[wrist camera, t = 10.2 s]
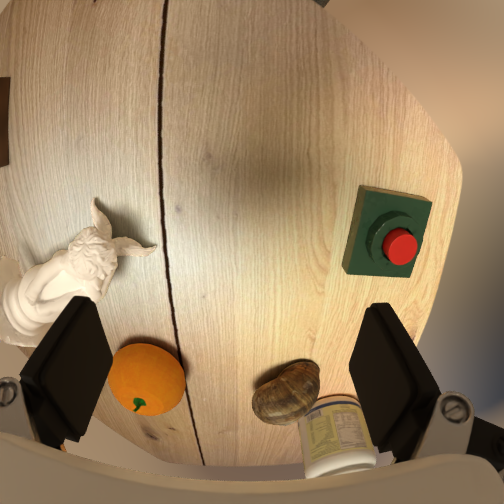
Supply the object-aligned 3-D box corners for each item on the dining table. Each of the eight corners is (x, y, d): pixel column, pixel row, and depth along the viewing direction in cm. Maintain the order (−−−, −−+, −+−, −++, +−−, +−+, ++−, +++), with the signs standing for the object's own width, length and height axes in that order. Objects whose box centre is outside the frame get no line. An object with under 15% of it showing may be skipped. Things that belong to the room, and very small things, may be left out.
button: (387, 226, 29) (393, 232, 28) (413, 229, 29) (421, 236, 28) (378, 256, 31) (384, 264, 29) (405, 259, 31) (411, 266, 29)
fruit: (110, 365, 43) (91, 412, 34) (126, 320, 38) (102, 372, 29) (174, 393, 46) (164, 441, 37) (201, 354, 41) (192, 409, 32)
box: (358, 184, 31) (372, 194, 27) (423, 196, 31) (441, 207, 28) (341, 265, 35) (351, 282, 32) (402, 269, 36) (416, 285, 32)
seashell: (264, 403, 47) (266, 442, 40) (240, 373, 43) (240, 415, 36) (327, 384, 45) (336, 422, 38) (310, 350, 41) (320, 392, 34)
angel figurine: (145, 202, 36) (175, 289, 32) (48, 272, 38) (64, 348, 34) (75, 148, 23) (92, 261, 19) (-22, 249, 25) (-15, 344, 21)
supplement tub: (344, 426, 52) (360, 495, 37) (288, 427, 51) (297, 502, 36) (370, 392, 47) (396, 469, 32) (309, 392, 46) (324, 479, 31)
